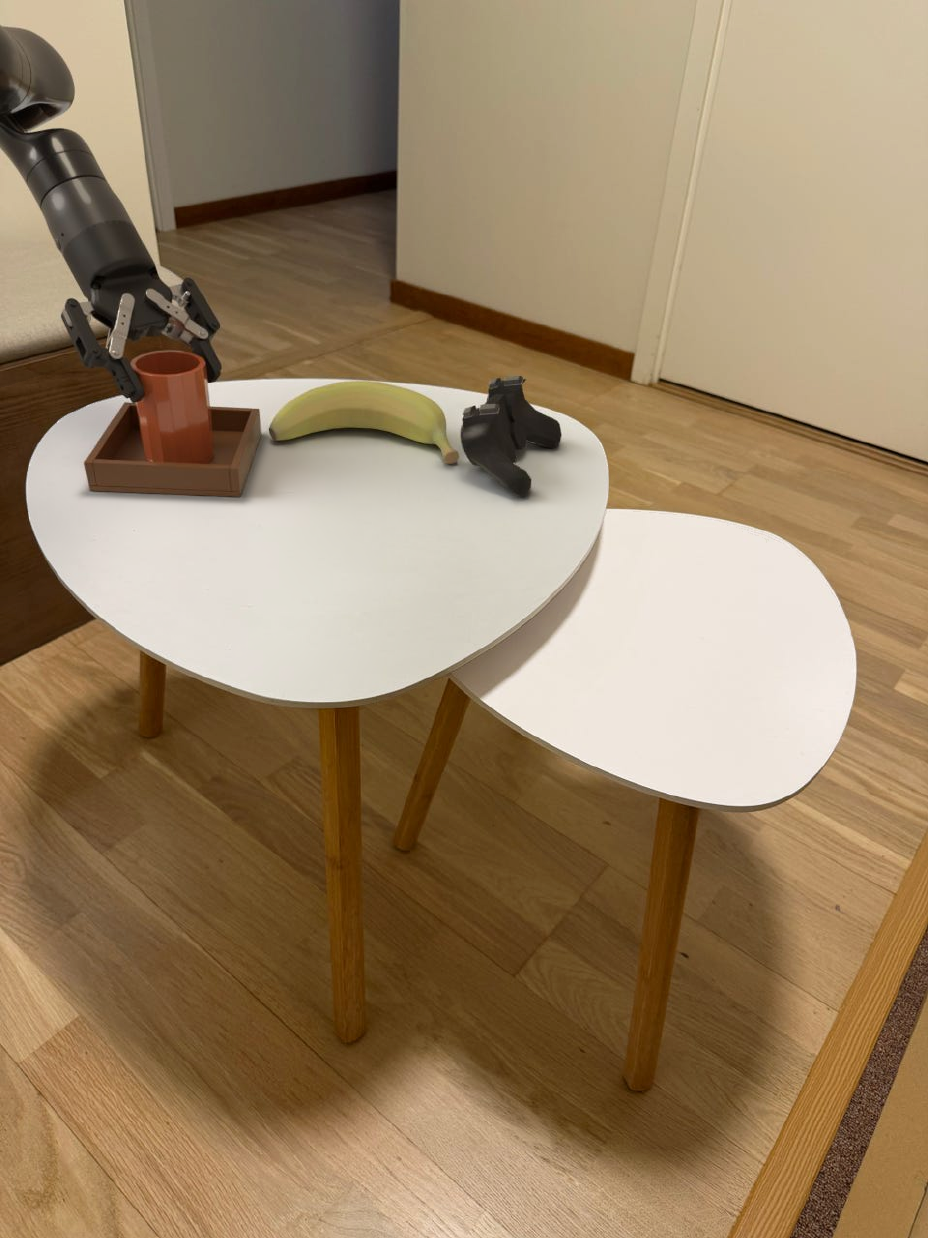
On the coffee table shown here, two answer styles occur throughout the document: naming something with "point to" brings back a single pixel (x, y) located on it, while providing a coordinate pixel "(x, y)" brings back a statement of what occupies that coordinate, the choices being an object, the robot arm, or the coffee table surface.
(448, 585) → the coffee table surface
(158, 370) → the cup
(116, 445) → the tray
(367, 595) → the coffee table surface
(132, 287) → the robot arm
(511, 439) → the chunky heeled booties
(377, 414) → the banana
